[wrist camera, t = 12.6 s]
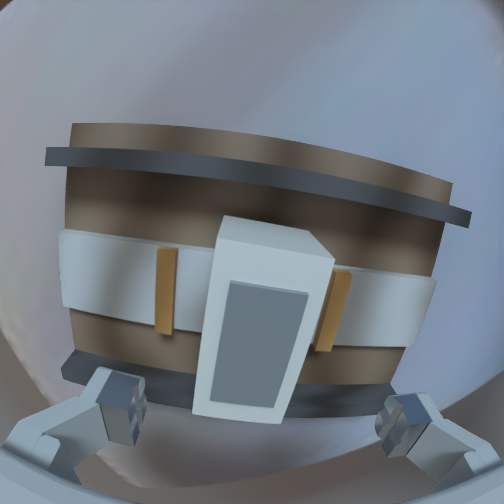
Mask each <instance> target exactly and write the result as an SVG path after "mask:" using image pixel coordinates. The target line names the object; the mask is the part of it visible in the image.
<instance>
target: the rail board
mask: <svg viewBox="0 0 504 504" xmlns="http://www.w3.org/2000/svg"><path fill="white" fill-rule="evenodd" d="M45 166H67V177H66V195H65V229H63V230H61V231H58V239H59V264H60V279H61V290H62V300H63V306H65V307H69V309H70V317H71V325H72V332H73V339H74V345H75V350H74V351H73V353H72V354H71V355H70V357H69V358H68V359H67V361H66V362H65V363H64V365H63V366H62V367H61V371H62V375H63V379H65V380H68V381H71V382H74V383H77V384H81V385H84V386H86V385H87V384H88V382H89V380H90V379H91V377H92V376H93V374H94V372H95V371H96V369H97V368H98V367H100V366H102V367H105V368H108V369H112V370H117V371H121V372H125V373H128V374H132V375H136V376H141V377H143V378H144V379H145V388H144V391H143V393H144V394H145V395H146V401H149V402H154V403H159V404H164V405H170V406H176V407H182V408H188V409H193V401H194V392H195V384H196V376H197V368H198V360H199V353H200V345H201V338H202V331H203V324H204V317H205V310H206V303H207V296H208V290H209V283H210V277H211V270H212V264H213V258H214V252H215V246H216V240H217V236H218V233H219V230H220V226H221V223H222V220H223V217H224V215H227V216H233V217H238V218H244V219H249V220H255V221H260V222H265V223H271V224H276V225H281V226H287V227H292V228H297V229H302V230H307V231H309V232H310V233H311V234H312V235H313V236H314V237H315V238H316V239H317V240H318V241H319V242H320V243H321V244H322V246H323V247H324V248H325V249H326V250H327V251H328V252H329V253H330V254H331V255H332V256H333V257H334V258H335V262H334V266H333V270H332V273H331V277H330V280H329V284H328V287H327V291H326V294H325V297H324V301H323V304H322V307H321V311H320V314H319V317H318V320H317V323H316V327H315V330H314V333H313V336H312V339H311V342H310V345H309V348H308V351H307V354H306V357H305V360H304V363H303V365H302V368H301V371H300V374H299V377H298V380H297V382H296V385H295V388H294V391H293V393H292V396H291V399H290V401H289V404H288V406H287V409H286V412H285V414H284V417H298V418H321V417H351V416H367V415H378V413H379V412H380V411H381V410H382V409H384V408H385V406H384V402H385V400H386V398H387V397H388V396H390V395H397V394H396V393H395V391H394V389H393V388H392V386H391V384H390V382H391V380H392V378H393V375H394V373H395V371H396V369H397V367H398V364H399V362H400V360H401V357H402V355H403V353H404V350H405V348H406V347H413V346H414V343H415V341H416V338H417V336H418V333H419V331H420V328H421V326H422V323H423V320H424V318H425V315H426V312H427V309H428V307H429V304H430V301H431V298H432V295H433V292H434V289H435V286H436V282H437V281H435V280H434V279H433V278H431V275H432V271H433V268H434V264H435V261H436V257H437V253H438V250H439V246H440V242H441V238H442V234H443V229H444V225H445V222H447V223H450V224H454V225H458V226H462V227H465V228H469V223H470V219H471V214H472V212H470V211H467V210H464V209H461V208H457V207H454V206H451V205H449V201H450V195H451V190H452V184H453V183H450V182H447V181H444V180H442V179H439V178H436V177H433V176H430V175H426V174H423V173H420V172H417V171H414V170H410V169H407V168H404V167H400V166H397V165H393V164H390V163H386V162H383V161H379V160H375V159H371V158H368V157H364V156H360V155H356V154H351V153H347V152H343V151H339V150H334V149H330V148H325V147H320V146H316V145H311V144H306V143H300V142H295V141H290V140H284V139H278V138H272V137H266V136H260V135H253V134H246V133H239V132H231V131H223V130H214V129H205V128H194V127H183V126H170V125H153V124H130V123H72V129H71V137H70V145H69V147H46V158H45Z"/></svg>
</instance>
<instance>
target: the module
mask: <svg viewBox="0 0 504 504" xmlns="http://www.w3.org/2000/svg"><path fill="white" fill-rule="evenodd" d="M334 262H335V258H334V257H333V256H332V255H331V254H330V253H329V252H328V251H327V250H326V249H325V248H324V247H323V246H322V244H321V243H320V242H319V241H318V240H317V239H316V238H315V237H314V236H313V235H312V234H311V233H310V232H309V231H307V230H302V229H297V228H292V227H287V226H281V225H276V224H271V223H265V222H260V221H255V220H249V219H244V218H238V217H233V216H227V215H224V217H223V220H222V223H221V226H220V230H219V233H218V236H217V240H216V246H215V252H214V258H213V264H212V270H211V277H210V283H209V290H208V296H207V303H206V310H205V317H204V324H203V331H202V338H201V345H200V353H199V360H198V368H197V376H196V384H195V392H194V401H193V410H192V414H195V415H201V416H208V417H215V418H222V419H230V420H238V421H247V422H258V423H270V424H281V422H282V419H283V417H284V414H285V412H286V409H287V406H288V404H289V401H290V399H291V396H292V393H293V391H294V388H295V385H296V382H297V380H298V377H299V374H300V371H301V368H302V365H303V363H304V360H305V357H306V354H307V351H308V348H309V345H310V342H311V339H312V336H313V333H314V330H315V327H316V323H317V320H318V317H319V314H320V311H321V307H322V304H323V301H324V297H325V294H326V291H327V287H328V284H329V280H330V277H331V273H332V270H333V266H334Z"/></svg>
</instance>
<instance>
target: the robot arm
mask: <svg viewBox="0 0 504 504" xmlns="http://www.w3.org/2000/svg"><path fill="white" fill-rule="evenodd" d="M144 388H145V379H144V378H143V377H141V376H136V375H132V374H128V373H125V372H121V371H117V370H112V369H108V368H105V367H102V366H100V367H98V368H97V369H96V371H95V372H94V374H93V376H92V377H91V379H90V380H89V382H88V384H87V385H86V387H85V389H84V390H83V392H82V394H81V395H80V397H76V396H75V397H72V398H70V399H68V400H66V401H63V402H61V403H59V404H57V405H54V406H52V407H50V408H48V409H45V410H43V411H41V412H38V413H36V414H34V415H31V416H29V417H27V418H24V419H22V420H20V421H18V423H17V424H16V426H15V427H14V429H13V430H12V432H11V433H10V435H9V436H8V438H7V439H6V441H5V443H4V444H3V445H2V447H0V504H141V503H137V502H133V501H129V500H126V499H122V498H119V497H115V496H112V495H109V494H105V493H102V492H99V491H96V490H93V489H90V488H87V487H85V486H82V485H81V482H80V480H79V478H78V477H77V475H76V473H75V471H74V470H73V468H74V467H75V466H77V465H78V464H80V463H81V462H83V461H84V460H85V459H87V458H88V457H90V456H91V455H92V454H94V453H95V452H97V451H98V450H99V449H101V448H102V447H103V446H105V445H106V444H108V443H109V441H112V442H116V443H120V444H124V445H128V446H132V447H135V444H136V441H137V438H138V435H139V426H138V425H139V424H141V423H142V422H143V420H144V417H145V412H146V402H147V401H146V395H145V394H144V393H143V391H144ZM384 406H385V408H384V409H382V410H381V411H380V412H379V413H378V415H377V417H376V421H375V431H376V433H377V436H378V437H380V438H381V439H382V440H383V442H382V444H381V445H382V448H383V450H384V452H385V455H386V457H387V458H391V457H398V456H404V455H406V457H408V458H409V459H410V460H411V461H412V462H413V463H414V464H415V465H417V466H418V467H419V468H420V469H421V470H422V471H424V472H425V473H426V474H427V475H428V476H429V477H430V478H432V479H433V480H434V481H435V482H436V483H437V484H436V486H434V487H433V488H432V489H431V491H430V492H429V495H425V496H422V497H419V498H415V499H412V500H408V501H404V502H400V503H396V504H504V464H503V463H502V461H501V460H500V458H499V456H498V455H497V453H496V452H495V450H494V449H493V447H492V446H491V444H490V443H488V442H487V441H485V440H483V439H481V438H479V437H477V436H476V435H474V434H472V433H470V432H469V431H467V430H465V429H463V428H462V427H460V426H458V425H456V424H455V423H453V422H451V421H450V420H448V419H443V417H442V416H441V414H440V413H439V411H438V410H437V408H436V407H435V405H434V403H433V402H432V400H431V399H430V397H429V396H428V394H427V393H425V392H418V393H410V394H399V395H390V396H388V397H387V398H386V400H385V402H384Z"/></svg>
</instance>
